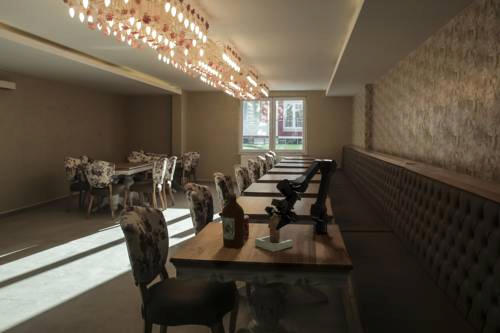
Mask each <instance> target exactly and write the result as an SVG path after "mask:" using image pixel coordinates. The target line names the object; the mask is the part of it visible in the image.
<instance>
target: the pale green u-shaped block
mask: <svg viewBox="0 0 500 333" xmlns="http://www.w3.org/2000/svg"><path fill="white" fill-rule="evenodd" d="M254 239H255V240H254V242H255V244H254V246H256V247H259V248H261V249H265V250H267V251H270V252H272V253H273V252H278V251H281V250H284V249H287V248H291V247H293V239H288V240H284V241H280V242H279V243H271V242H270V235H267V236H263V237H259V238H258V237H256V238H254Z"/></svg>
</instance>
